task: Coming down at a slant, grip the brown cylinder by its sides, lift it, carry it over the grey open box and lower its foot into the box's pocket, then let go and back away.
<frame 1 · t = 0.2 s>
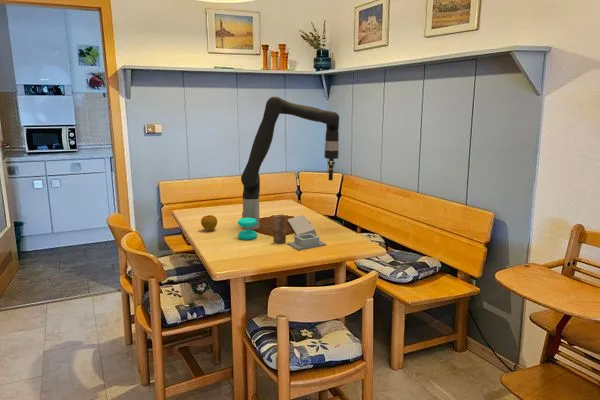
hand: (330, 179, 250), 29 cm above the table, tool pointing down, fingers open, 8 cm apart
apple: (209, 230, 255), on the table
brown cylinder: (279, 242, 233), on the table
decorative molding: (301, 230, 258), on the table
donuts: (247, 238, 241), on the table
grey open box: (306, 244, 228), on the table
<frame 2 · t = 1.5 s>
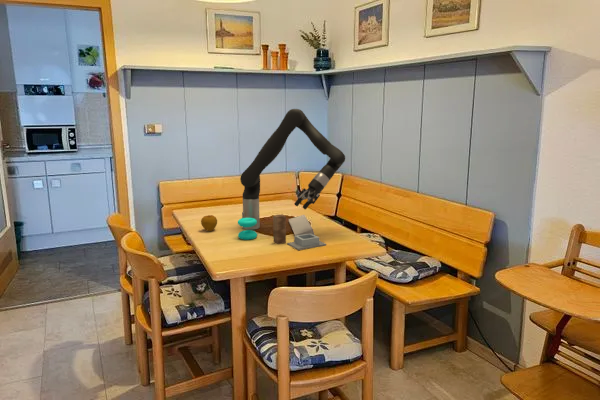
hand: (299, 206, 235), 17 cm above the table, tool tilted 45°, fingers open, 8 cm apart
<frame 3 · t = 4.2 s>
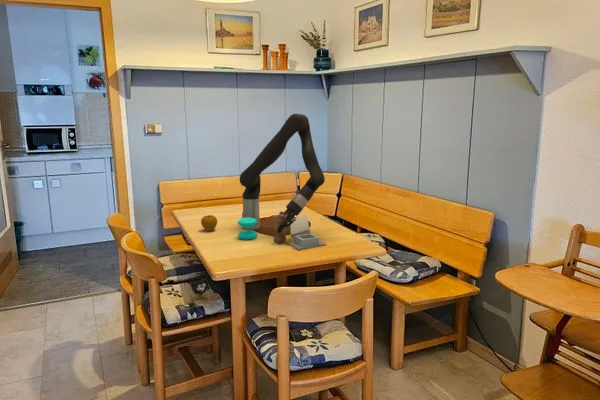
hand: (276, 230, 230), 7 cm above the table, tool tilted 45°, fingers closed on brown cylinder, 4 cm apart
brown cylinder: (279, 242, 233), on the table, touching gripper
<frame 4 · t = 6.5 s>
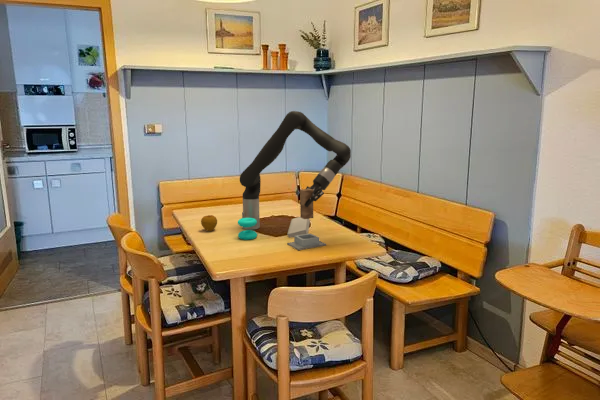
hand: (303, 205, 223), 20 cm above the table, tool tilted 45°, fingers closed on brown cylinder, 4 cm apart
brown cylinder: (306, 217, 226), point 14 cm above the table, touching gripper
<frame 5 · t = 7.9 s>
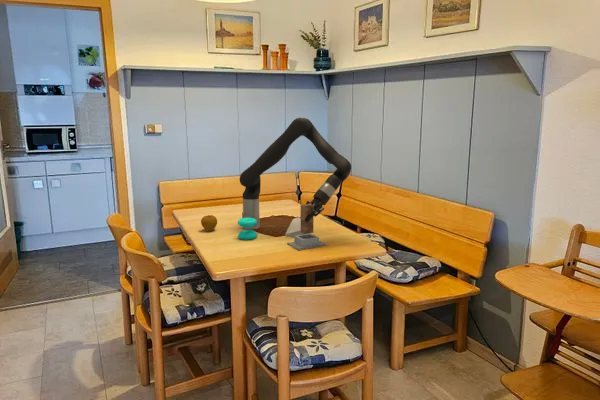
hand: (303, 220, 225), 13 cm above the table, tool tilted 45°, fingers closed on brown cylinder, 4 cm apart
brown cylinder: (307, 232, 227), point 6 cm above the table, touching gripper
when the fingers open (9 cm above the table, at t = 9.1 s): brown cylinder drops 1 cm, resting on grey open box.
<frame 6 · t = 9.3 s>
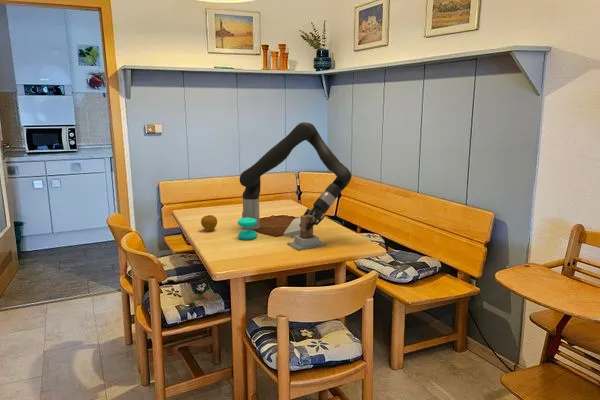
hand: (303, 228, 226), 9 cm above the table, tool tilted 45°, fingers open, 5 cm apart
brown cylinder: (306, 243, 228), point 1 cm above the table, touching grey open box
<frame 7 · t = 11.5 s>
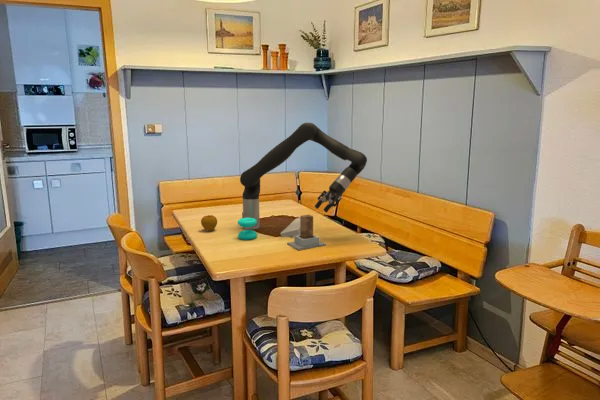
hand: (320, 209, 230), 17 cm above the table, tool tilted 45°, fingers open, 8 cm apart
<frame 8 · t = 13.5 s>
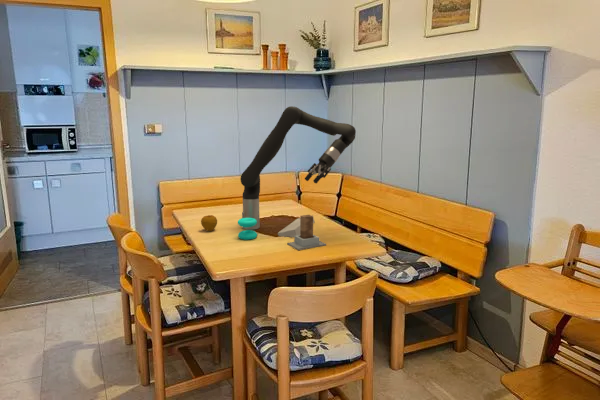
hand: (310, 181, 231), 31 cm above the table, tool tilted 45°, fingers open, 8 cm apart
at the end: brown cylinder 0.1 cm off-centre on the grey open box, point 0.8 cm above the grey open box's base; brown cylinder tilted 0°; the gripper is holding nothing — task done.
